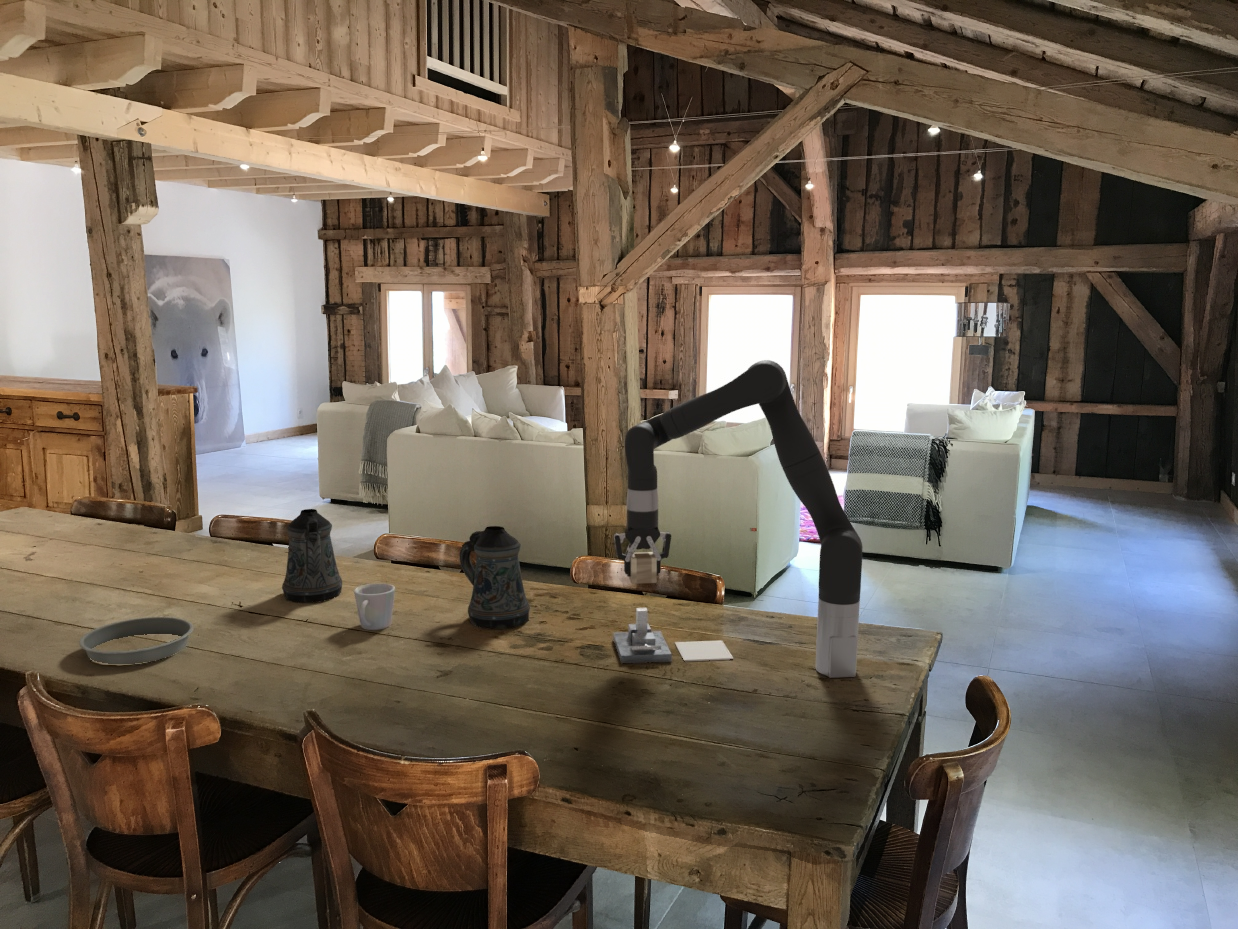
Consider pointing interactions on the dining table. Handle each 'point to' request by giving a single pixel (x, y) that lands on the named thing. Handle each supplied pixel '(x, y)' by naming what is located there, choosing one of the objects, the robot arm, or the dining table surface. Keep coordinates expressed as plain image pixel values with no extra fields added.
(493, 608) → the beer stein
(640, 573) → the sleeve
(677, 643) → the mat
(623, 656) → the vise
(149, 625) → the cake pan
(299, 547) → the dark grey patterned jug
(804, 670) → the dining table surface
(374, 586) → the mug
